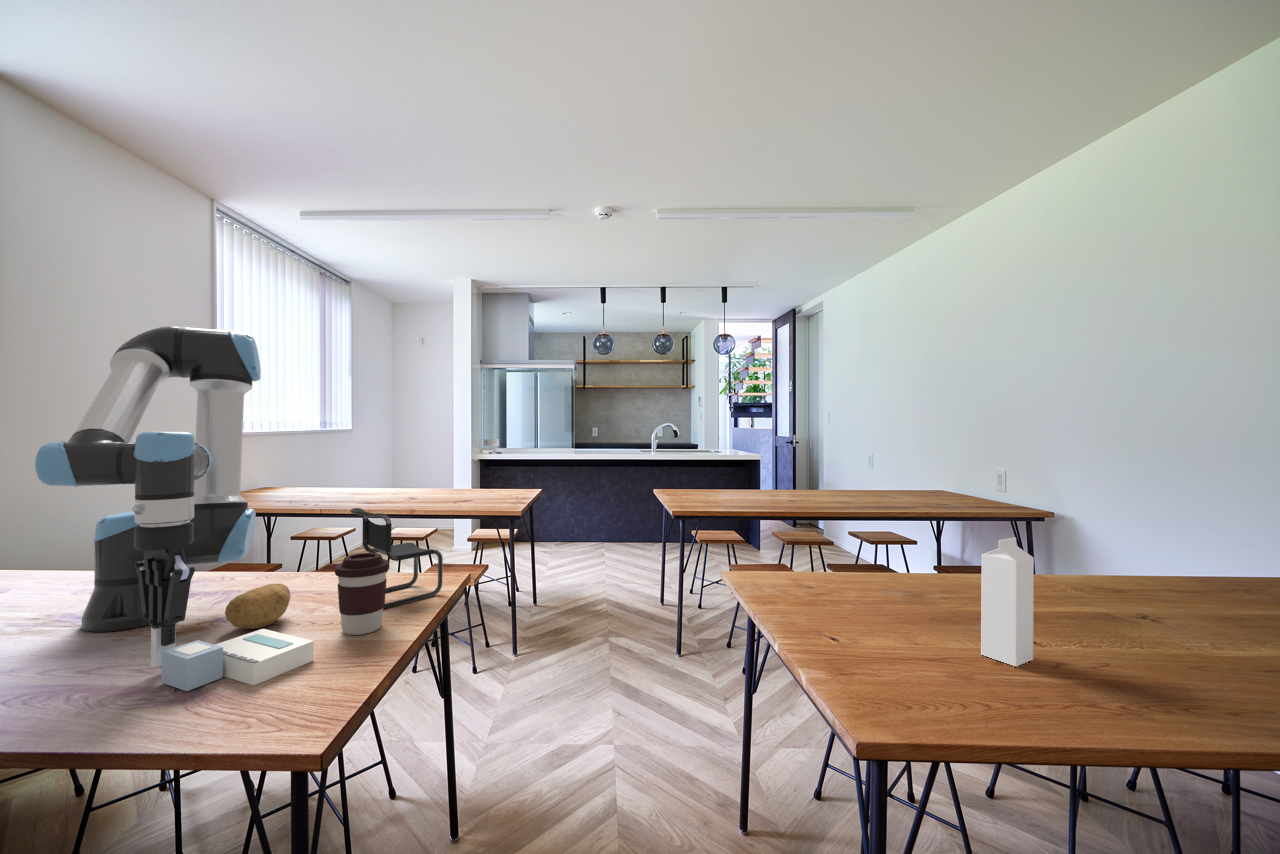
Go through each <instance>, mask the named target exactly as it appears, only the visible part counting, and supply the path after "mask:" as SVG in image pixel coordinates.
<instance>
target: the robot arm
mask: <svg viewBox="0 0 1280 854" xmlns="http://www.w3.org/2000/svg"><path fill="white" fill-rule="evenodd" d="M109 368H110V370H111V371H110V373H109V374H108V376H107V378H106V379H105V381H104V382H103V384H102V386H101V387H100V389H99V391H98V392H97V394H96V396H95V397H94V399H93V401H92V402H91V404H90V406H89V407H88V408H87V411H86V412H85V414H84V415H83V417H82V419H81V421H80V423H78V425H77V427H76V429H75V431H74V432H73V434H72V435H71V437H70V438H69V440H68V441H63V440H61V441H56V442H54V441H53V442H48V443H46V444H43V445H41V446H40V447H39V449H38V451H37V452H36V455H35V459H34V461H35V462H34V469H35V473H36V476H37V477H38V478H37V479H38V481H40V482H41V483H42V484H44V485H46V486H53V487H54V486H56V487H89V486H106V485H107V486H111V485H112V486H114V485H134V506H132V507H131V510H128V511H124V512H118V513H113V514H110V515H107V516H104V517H102V518H100V519H99V520H98V521H97V522H96V524H95V533H94V539H93V543H94V587H93V590H92V593H91V595H90V598H89V600H88V601H87V604H86V606H85V609H84V612H83V613H82V616H81V629H82V630H83V631H85V632H90V633H91V632H92V633H93V632H94V633H106V632H115V631H118V632H119V631H123V630H129V629H136V628H140V627H145V626H151V627H150V629H151V630H150V633H151V634H150V635H151V636H150V638H151V639H150V666H151V667H154V668H159V667H162V651H165V650H168V649H171V648H174V647H177V646H176V639H177V638H176V636H177V634H176V633H177V631H176V630H177V626H176V624H178V623H180V622H183V621H185V620H186V614H187V607H188V601H189V596H190V588H191V582H192V578H193V576H194V573H195V572H196V569H195V566H196V565H208V564H209V565H210V564H223V563H226V562H227V563H229V562H234V561H239V560H242V559H243V558H244V557H246V555H247V554H248V552H249V551H250V547H251V544H252V542H253V537H254V533H255V527H256V517H257V516H256V514H257V513H256V512H257V511H256V509H253V508H251V507H250V508H249V507H248V505H249V501H248V500H247V499H246V498H244V497H243V496H242V494H241V484H242V483H241V481H242V478H241V477H242V455H243V434H244V433H243V432H244V431H243V430H244V428H243V425H244V403H245V402H244V401H245V395H246V394H247V393H248V392H250V391H251V390H252V389H253V382H259V381H261V377H262V376H261V375H262V373H261V363H260V356H259V351H258V347H257V343H256V340H255V338H254V336H253V335H251V334H250V333H249V332H245V331H235V330H231V329H214V328H213V329H212V328H199V327H188V326H187V327H185V326H184V327H183V326H175V325H169V326H168V325H167V326H161V327H157V328H156V327H155V328H153V329H150V330H145V331H144V332H142V333H140V334H136V336H133V337H132V338H130V339H129V340H126V342H124V343H123V344H121V346H120V347H118V348H117V349H116V351H115V352H114V354H113V355H112V356H111V359H110V361H109ZM168 378H169V379H170V378H187V379H188V378H189V386H191V387H192V388H193V390H195V391H196V392H197V398H196V399H197V400H196V416H195V417H196V419H195V421H196V422H195V434H193V433H192V432H189V431H143V432H140V433H138V434H137V436H136V438H135V441H132V438H133V436H134V435H135V432H136V430H137V428H138V426H139V424H140V423H141V421H142V418H143V416H144V414H145V412H146V410H147V408H148V407H149V404H150V402H151V400H152V398H153V396H154V394H155V392H156V390H157V388H158V386H161V385H162V384H165V382H167V380H168ZM131 441H132V442H131ZM194 565H195V566H194Z"/></svg>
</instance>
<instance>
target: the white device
mask: <svg viewBox="0 0 1280 854" xmlns="http://www.w3.org/2000/svg"><path fill="white" fill-rule="evenodd" d="M314 643H315V642H314V640H311V639H307V638H302V637H299V636H295V635H290V634H287V633H282V632H278V631H274V630H270V629H266V628H259V629H258V630H255V631H252V632H249V633H245V634H243V635H239V636H237V637H234V638H233V637H232V638H230V639H227V640H224V641H222V642H218V643H215V644H214V645H217V646H221V647H223V678H224V677H225V678H228V679H231V680H233V681H238V682H241V683H245V684H247V685H250V686H257V685H258V684H261V683H263V682H265V681H268V680H270V679H272V678H275V677H277V676H280V675H283V674H285V673H287V672H290V671H292V670H294V669H296V668H299V667H302V666H304V665H306V664H309V663H311V662H314V654H315V653H314V651H315V650H314V648H315V647H314Z"/></svg>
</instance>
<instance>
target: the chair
mask: <svg viewBox="0 0 1280 854" xmlns="http://www.w3.org/2000/svg"><path fill="white" fill-rule="evenodd" d="M350 514H354V515H356V516H362V543H361V544H362V547H363V550H365V551H366V553H378V554H381V555H385V556H386V557H387V558H388V559H389V560H390V561H394V562H395V561H397V562H399V561H404V560H409V559H413V577H412V579H411V580H410V581H409V582H406V583H403V584H398V585H394V586H388V587H386V593H388V592H387V591H390V592H393V591H392V590H394V591H397V590H396V589H398V590H402V589H401V588H403V589H406V587H407V588H410V587H412V586H413V585H414V584H416V581H418V578H419V558H420V557H424V556H430V555H436V557H437V586H436V588H435V590H433V591H430V592H426V593H423V594H419V595H415V596H411V597H410V596H409V597H408V598H403V599H398V600H395V601H391V602H387V603H386V602H385V605H384V607H383V608H386V609H389V608H388V607H390V608H392V606H393V607H396V605H397V606H400V604H401V605H404V604H408V603H412V602H416V601H420V600H424V599H427V598H428V599H429V598H432V597H434V596H436V595H437V594H439V593H440V592H441V589H442V588H443V575H444V574H443V569H444V567H443V563H444V562H443V561H444V559H443V555H442V553H441V551H440V550H438V549H433V548H432V549H431V548H430V549H427V548H422V547H418V546H417V545H416V544H415V543H413V542H404V543H398V544H392V525H393V524H392V522H391V521H392V520H391V519H390V516H388V515H387V514H386V513H378V512H377V513H375V512H374V513H373V512H369V511H365V510H364V509H362V508H360V507H359V508H358V507H356V508H355V507H354V508H351V509H350ZM369 518H371V519H383V520H384V522H385V524H377V523H374V522H372V521H371V520H370V519H369ZM371 547H372V548H371Z"/></svg>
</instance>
